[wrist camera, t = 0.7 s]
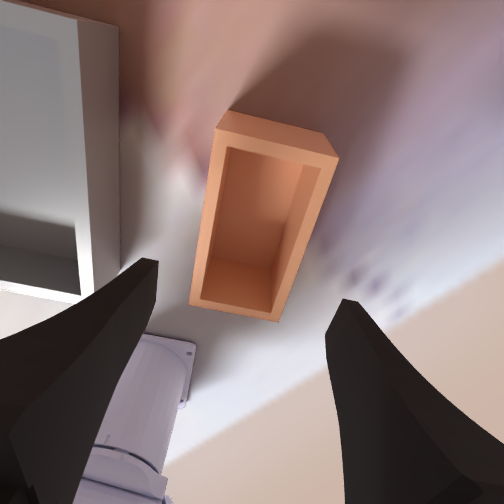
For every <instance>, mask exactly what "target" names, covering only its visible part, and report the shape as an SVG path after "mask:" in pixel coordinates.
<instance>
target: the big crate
mask: <svg viewBox="0 0 504 504" xmlns="http://www.w3.org/2000/svg"><path fill="white" fill-rule="evenodd" d="M119 272H120V134H119V26H115V25H112V24H108V23H104V22H100V21H96V20H92V19H88V18H85V17H81V16H77V15H73V14H69V13H65V12H61V11H58V10H54V9H50V8H46V7H42V6H38V5H35V4H31V3H27V2H23V1H19V0H0V290H5V291H10V292H15V293H20V294H26V295H31V296H36V297H41V298H47V299H52V300H57V301H62V302H68V303H73V304H76V303H78V302H80V301H81V300H83V299H84V298H86V297H88V296H89V295H91V294H92V293H94V292H95V291H97V290H99V289H100V288H102V287H103V286H104V285H106V284H107V283H109V282H110V281H111V280H113V279H114V278H116V276H117V275H118V273H119Z"/></svg>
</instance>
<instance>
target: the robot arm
mask: <svg viewBox="0 0 504 504" xmlns="http://www.w3.org/2000/svg"><path fill="white" fill-rule="evenodd" d="M158 264H159V261H157V260H152V259H147V258H141V259H139V260H138V261H137V262H135V263H134V264H133V265H131V266H130V267H129V268H128V269H126V270H125V271H124V272H122V273H121V274H120V275H118V276H117V277H116V278H114V279H113V280H111V281H110V282H109V283H107V284H106V285H104V286H103V287H102V288H100V289H99V290H97V291H95V292H94V293H92V294H91V295H89V296H88V297H86V298H84V299H83V300H81V301H80V302H78V303H76V304H75V305H73V306H71V307H69V308H68V309H66V310H64V311H62V312H60V313H58V314H57V315H55V316H53V317H51V318H49V319H47V320H45V321H42V322H40V323H38V324H36V325H33V326H31V327H29V328H27V329H25V330H22V331H20V332H18V333H16V334H13V335H11V336H8V337H6V338H3V339H0V504H173V501H172V499H171V498H170V497H169V496H167V495H164V494H165V490H166V485H167V481H168V478H167V477H164V476H162V475H161V473H162V469H163V465H164V461H165V457H166V453H167V449H168V445H169V441H170V437H171V433H172V430H173V426H174V422H175V418H176V414H177V410H178V409H183V408H185V405H186V400H187V394H188V389H189V384H190V378H191V373H192V368H193V362H194V357H195V352H196V345H195V344H193V343H190V342H185V341H180V340H174V339H169V338H164V337H158V336H153V335H147V334H143V332H144V330H145V328H146V326H147V324H148V321H149V319H150V316H151V313H152V311H153V308H154V305H155V302H156V291H157V278H158ZM325 344H326V359H327V364H328V369H329V375H330V380H331V385H332V390H333V395H334V399H335V405H336V409H337V415H338V421H339V427H340V438H341V449H342V459H343V460H342V461H343V474H344V491H345V504H504V444H503V443H502V442H500V441H499V440H498V439H496V438H495V437H494V436H492V435H491V434H490V433H488V432H487V431H486V430H484V429H483V428H482V427H480V426H479V425H478V424H476V423H475V422H474V421H473V420H471V419H470V418H469V417H468V416H466V415H465V414H464V413H463V412H462V411H460V410H459V409H458V408H457V407H456V406H454V405H453V404H452V403H451V402H450V401H449V400H447V399H446V398H445V397H444V396H443V395H442V394H441V393H440V392H439V391H437V390H436V389H435V388H434V387H433V386H432V385H431V384H430V383H429V382H428V381H427V380H426V379H425V378H424V377H423V376H422V375H421V374H420V373H419V372H418V371H417V370H416V369H415V368H414V367H413V366H412V365H411V364H410V363H409V361H408V360H407V359H406V358H405V357H404V356H403V355H402V354H401V353H400V352H399V351H398V349H397V348H396V347H395V346H394V345H393V344H392V343H391V341H390V340H389V339H388V338H387V336H386V335H385V334H384V333H383V332H382V330H381V329H380V328H379V327H378V325H377V324H376V323H375V322H374V320H373V319H372V318H371V317H370V315H369V314H368V313H367V312H366V311H365V309H364V308H363V307H362V306H361V305H360V304H359V302H357V301H352V300H347V299H342V301H341V303H340V305H339V307H338V309H337V311H336V313H335V315H334V317H333V319H332V321H331V323H330V326H329V328H328V330H327V332H326V334H325Z"/></svg>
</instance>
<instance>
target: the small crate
mask: <svg viewBox="0 0 504 504" xmlns="http://www.w3.org/2000/svg"><path fill="white" fill-rule="evenodd" d="M338 161H339V157H338V155H337V154H336V152H335V151H334V149H333V147H332V146H331V144H330V143H329V141H328V140H327V138H326V137H325V135H324V134H323V133H320V132H316V131H312V130H308V129H304V128H300V127H296V126H292V125H288V124H284V123H280V122H276V121H271V120H267V119H263V118H259V117H255V116H251V115H247V114H243V113H239V112H235V111H231V110H227V111H226V113H225V114H224V116H223V117H222V119H221V120H220V122H219V123H218V125H217V126H216V128H215V132H214V139H213V145H212V152H211V158H210V165H209V172H208V178H207V185H206V192H205V198H204V205H203V211H202V218H201V225H200V231H199V238H198V244H197V251H196V258H195V264H194V271H193V278H192V284H191V291H190V297H189V304H188V305H191V306H197V307H202V308H207V309H212V310H217V311H222V312H227V313H233V314H238V315H243V316H248V317H253V318H258V319H264V320H269V321H274V322H279V320H280V317H281V314H282V312H283V309H284V306H285V304H286V301H287V298H288V295H289V293H290V290H291V287H292V285H293V282H294V279H295V277H296V274H297V271H298V269H299V266H300V263H301V260H302V258H303V255H304V252H305V250H306V247H307V244H308V242H309V239H310V236H311V234H312V231H313V228H314V225H315V223H316V220H317V217H318V215H319V212H320V209H321V207H322V204H323V201H324V199H325V196H326V193H327V191H328V188H329V185H330V182H331V180H332V177H333V174H334V172H335V169H336V166H337V164H338Z"/></svg>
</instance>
